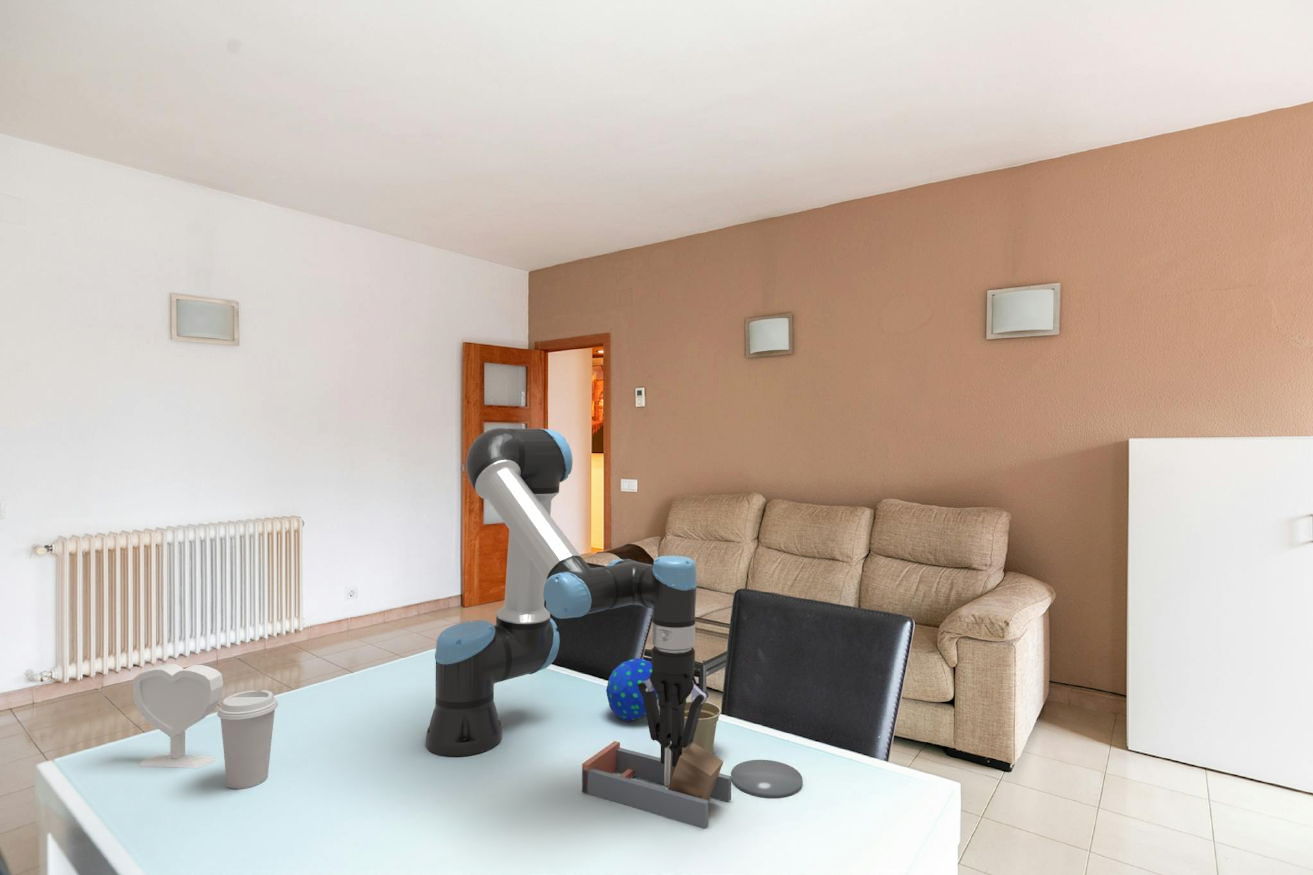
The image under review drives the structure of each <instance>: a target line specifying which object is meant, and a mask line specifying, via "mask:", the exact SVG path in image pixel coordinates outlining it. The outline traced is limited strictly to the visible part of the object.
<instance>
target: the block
mask: <svg viewBox="0 0 1313 875" xmlns="http://www.w3.org/2000/svg"><path fill="white" fill-rule="evenodd" d="M723 763H724V760H723V759H721V758H719V757H718V756H716V755H714V754H713V753H712V754H711V753H709V752H708V751H706V750H704V749H703V748H701V747H700V746H698V745H696V744H695V743H693V744H692V745H691V746H690V747H689V748H688V749H687V750H686V751H685V752H684V753H683V752H682V755H681V756H680V757H679V759H678V762H677V765H676V768H675V770H674V773H673V776H672V779H671V781H670V784H669V787H667V789H668V790H672V791H676V792H679V793H683V794H686V795H690V796H693V797H697V798H701V799H704V800H708V801H709V802H710V799H711V797H710V796H711V794H712V791H713V788H714V786H715V783H716V780H717V778H718V775H719V773H721V770H722V767H723Z"/></svg>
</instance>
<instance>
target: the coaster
mask: <svg viewBox="0 0 1313 875" xmlns="http://www.w3.org/2000/svg"><path fill="white" fill-rule="evenodd" d="M730 776H731V784H733V786H734V787H735V788H737V789H738V790H740V791H741V792H743V793H744V794H745V793H746V794H748V795H750V796H754V797H758V798H766V799H780V798H786V797H789V796H793V795H795V794H797V793H798V792H799V791H800V790H801V789H802V787H803V776H802V775H801V773H800V772H799V771H798V769H796V768H794V767H793V766H790V765H789V764H786V763H783V762H780V761H776V760H771V759H751V760H746V761H743V762H740V763H737V764H736V765H734V767H733V768H732V769H731V771H730Z"/></svg>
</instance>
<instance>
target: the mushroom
mask: <svg viewBox="0 0 1313 875" xmlns="http://www.w3.org/2000/svg"><path fill="white" fill-rule="evenodd" d="M651 662H652V661H650V660H646V659H644V658H640V657H639V658H638V657H637V658H631V659H628V660H626V661H623V662H621V663H620V664H619V665H618V666H617V667H615V668H614V670H612V673H611V674H610V676H609V677H608V681H607V685H606V689H605V691H606V692H605V693H606V696H607V701H608V705H609V708H610V709H611V711H612V713H613V714H614V715H615V716H617V717H619V718H620V719H621V720H622V721H624V722H632V721H636V720H640V719H643V718H644V717H645V716H646V711H645V706H644V701H643V697H642V695H641V693H640V691H639V689H638V684H639V683H641V682H643V681H645V680H648V679H650V674H651V672H652V667H651ZM654 691H655V694H656V699H657V704H658V694H657V692H656V690H655V689H654ZM658 709H659V712H660V706H659V705H658Z"/></svg>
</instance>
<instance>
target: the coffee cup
mask: <svg viewBox="0 0 1313 875" xmlns="http://www.w3.org/2000/svg"><path fill="white" fill-rule="evenodd" d="M278 707H279V703H278V700H277V698H276V697H275V696H274V693H273V692H272V691H270V690H267V689H266V690H265V689H255V690H254V689H253V690H246V691H242V692H241V691H240V692H237V693H233V694H231V695H228V696H227V697H226V698H224V699H223V700H222V704H221V705H220V706H219V708H218V711H217V713H216V715H217V717H218V718H220V725H221V727H220V728H221V737H222V746H223V758H224V769H225V770H224V771H225V781H226V786H227V788H229V789H233V790H243V789H250V788H253V787H256V786H258V785H260V784H263V783H264V782H265V781H266V780H267V779H268V777H269V769H270V761H271V760H270V757H271V751H272V750H271V747H272V740H273V729H274V720H275V712H276V711H275V710H276V709H277V708H278Z"/></svg>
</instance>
